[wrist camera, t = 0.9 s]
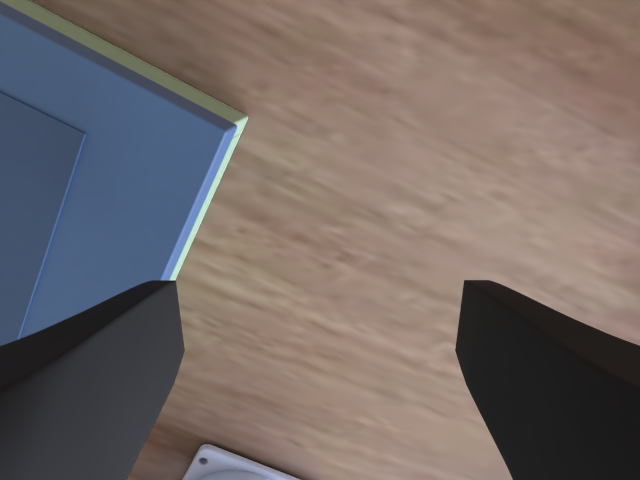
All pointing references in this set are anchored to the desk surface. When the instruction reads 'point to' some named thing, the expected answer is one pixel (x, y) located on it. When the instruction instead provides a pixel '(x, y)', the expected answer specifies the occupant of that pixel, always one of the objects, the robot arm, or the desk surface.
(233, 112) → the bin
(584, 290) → the desk surface
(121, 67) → the lid
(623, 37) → the desk surface
